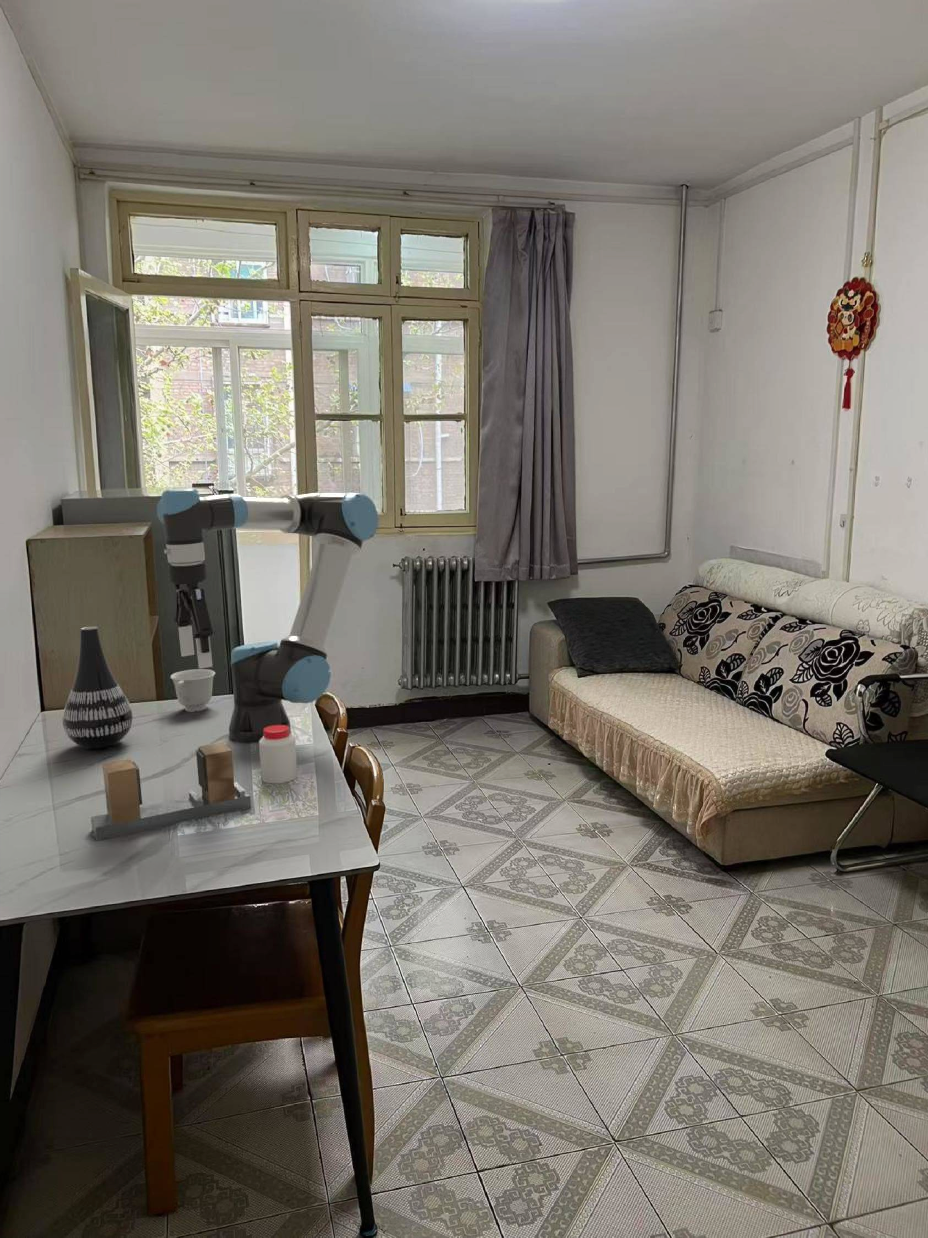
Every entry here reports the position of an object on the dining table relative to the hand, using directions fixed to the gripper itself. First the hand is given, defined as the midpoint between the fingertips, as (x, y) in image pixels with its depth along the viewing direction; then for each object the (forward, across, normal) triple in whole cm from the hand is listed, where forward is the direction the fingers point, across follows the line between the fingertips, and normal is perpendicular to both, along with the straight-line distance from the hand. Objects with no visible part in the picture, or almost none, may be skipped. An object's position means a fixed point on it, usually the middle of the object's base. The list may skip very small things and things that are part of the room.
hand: (196, 661), depth 198 cm
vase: (+26, -37, -16) cm, 48 cm away
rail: (+26, +20, -13) cm, 35 cm away
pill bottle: (+26, +10, +13) cm, 31 cm away
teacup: (+27, -55, +12) cm, 62 cm away
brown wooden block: (+23, +21, -4) cm, 31 cm away
